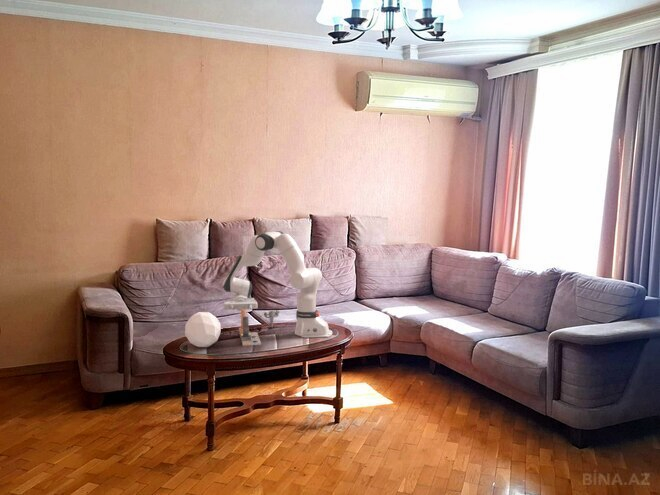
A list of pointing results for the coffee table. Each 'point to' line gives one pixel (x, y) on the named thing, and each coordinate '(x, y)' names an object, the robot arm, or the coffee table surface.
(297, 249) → the robot arm
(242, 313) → the post
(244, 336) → the dividers beam
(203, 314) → the geometric polyhedron
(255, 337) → the bolt hole strip
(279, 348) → the coffee table surface
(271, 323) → the mechanical component
